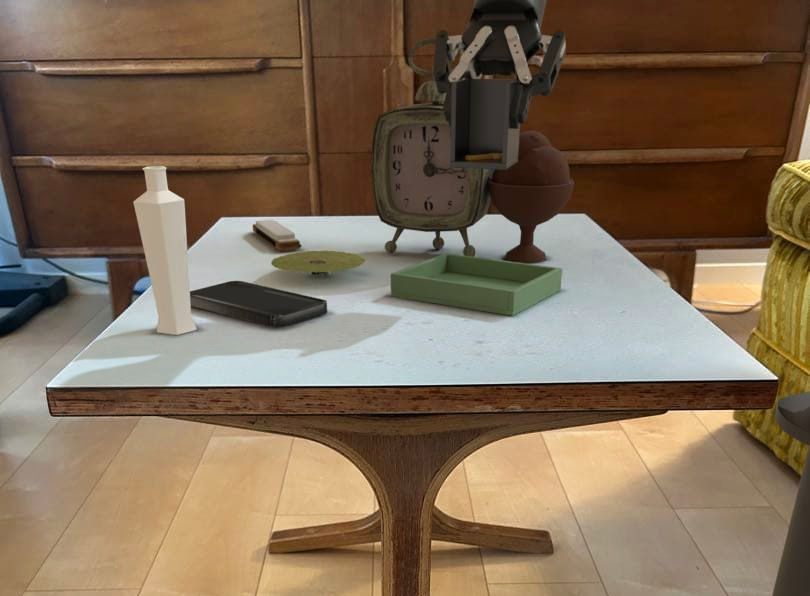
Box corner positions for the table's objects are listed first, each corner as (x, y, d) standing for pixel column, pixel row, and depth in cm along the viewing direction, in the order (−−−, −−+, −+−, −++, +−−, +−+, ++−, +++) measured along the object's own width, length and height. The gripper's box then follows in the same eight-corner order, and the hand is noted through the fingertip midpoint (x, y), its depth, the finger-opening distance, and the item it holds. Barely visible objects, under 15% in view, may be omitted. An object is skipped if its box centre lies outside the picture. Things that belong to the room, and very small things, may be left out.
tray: (560, 290, 100) (562, 268, 99) (512, 316, 91) (514, 291, 90) (445, 273, 107) (445, 252, 106) (390, 296, 98) (390, 273, 97)
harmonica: (301, 250, 119) (300, 235, 118) (279, 252, 118) (278, 236, 117) (273, 231, 131) (272, 217, 130) (253, 232, 130) (251, 218, 129)
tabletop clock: (373, 256, 116) (368, 38, 103) (393, 242, 123) (391, 37, 111) (480, 262, 112) (488, 37, 100) (494, 248, 120) (503, 37, 107)
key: (500, 156, 95) (500, 152, 95) (509, 158, 94) (509, 154, 94) (462, 159, 93) (462, 154, 93) (471, 161, 92) (471, 156, 92)
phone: (277, 317, 87) (181, 293, 95) (278, 329, 87) (182, 303, 95) (332, 301, 92) (236, 279, 100) (332, 311, 92) (237, 289, 101)
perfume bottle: (146, 327, 88) (121, 166, 81) (189, 320, 90) (168, 163, 83) (160, 338, 85) (135, 172, 78) (204, 331, 87) (183, 168, 79)
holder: (517, 162, 95) (522, 79, 91) (506, 169, 91) (510, 82, 86) (464, 160, 97) (466, 78, 93) (450, 167, 92) (451, 81, 88)
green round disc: (373, 267, 110) (372, 251, 109) (355, 289, 101) (355, 272, 100) (286, 264, 112) (285, 249, 111) (260, 286, 102) (259, 269, 101)
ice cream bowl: (467, 259, 114) (471, 132, 106) (516, 245, 121) (523, 126, 114) (535, 272, 108) (545, 138, 100) (583, 256, 115) (595, 130, 108)
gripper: (442, -40, 92) (408, 94, 89) (579, -44, 88) (549, 96, 85) (454, 18, 99) (422, 145, 96) (581, 18, 96) (554, 149, 92)
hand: (482, 121), depth 90 cm, fingers closed on holder, 6 cm apart
